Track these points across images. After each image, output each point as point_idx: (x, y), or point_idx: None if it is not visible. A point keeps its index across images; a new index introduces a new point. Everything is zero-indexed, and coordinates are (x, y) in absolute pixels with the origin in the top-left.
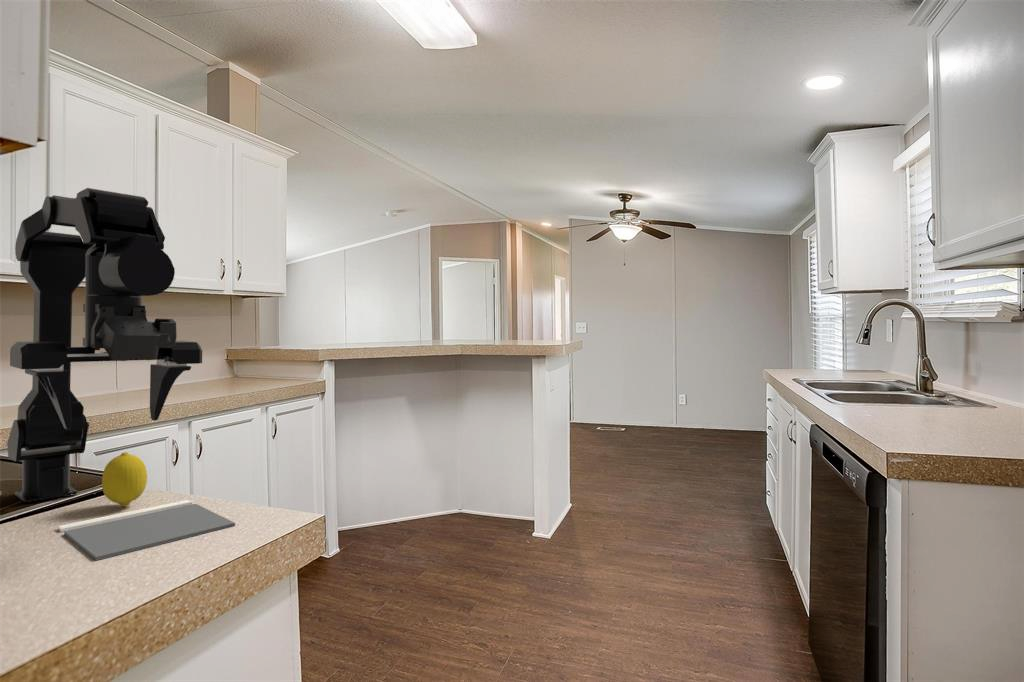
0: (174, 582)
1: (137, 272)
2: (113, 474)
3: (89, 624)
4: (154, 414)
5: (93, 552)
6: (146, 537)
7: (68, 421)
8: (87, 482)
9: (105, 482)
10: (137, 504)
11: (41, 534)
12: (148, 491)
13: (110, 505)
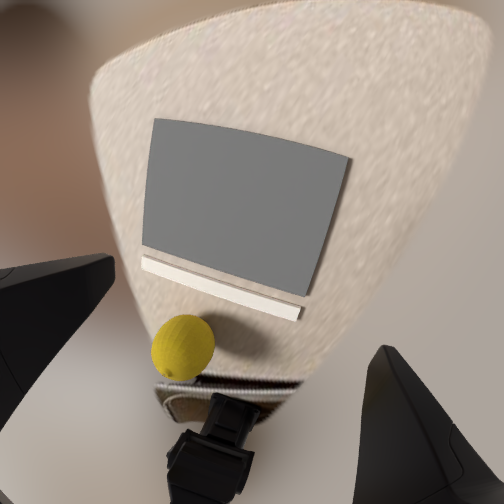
0: (330, 7)
1: None
2: (198, 352)
3: (437, 11)
4: (99, 263)
5: (339, 178)
6: (260, 168)
7: (399, 360)
8: (188, 408)
9: (210, 353)
10: None
11: (317, 319)
12: None
13: None
